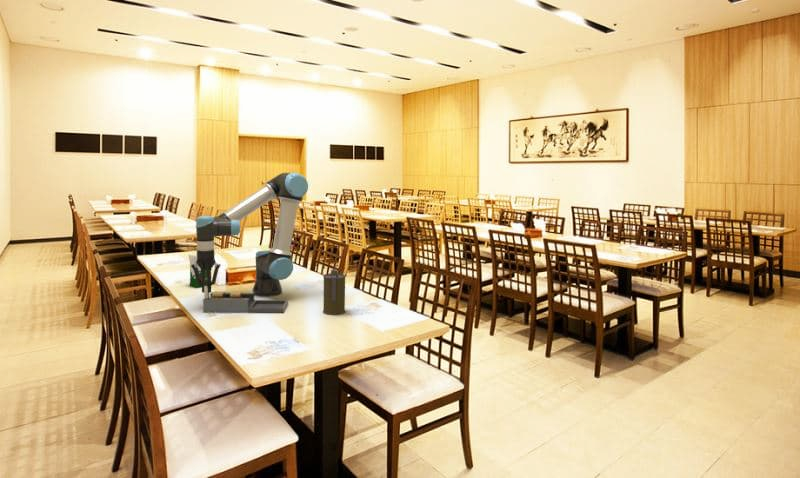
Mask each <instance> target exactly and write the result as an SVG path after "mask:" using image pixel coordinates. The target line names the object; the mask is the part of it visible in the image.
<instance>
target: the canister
mask: <svg viewBox="0 0 800 478" xmlns="http://www.w3.org/2000/svg"><path fill="white" fill-rule="evenodd" d="M346 276H347V275H345V274H343V273H339V270H338V268H333V269H330V273H325V274H323V276H322V277H323V308H322V309H323V310H322V313H323V314H325V315H330V316H338V315H339V316H340V315H342V314H345V313H346V306H345V304H346Z"/></svg>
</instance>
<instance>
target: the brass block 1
mask: <svg viewBox="0 0 800 478" xmlns="http://www.w3.org/2000/svg"><path fill="white" fill-rule="evenodd" d="M225 292H226V291H214V293H213V294H212V298H225Z"/></svg>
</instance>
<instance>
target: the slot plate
mask: <svg viewBox="0 0 800 478" xmlns="http://www.w3.org/2000/svg"><path fill="white" fill-rule="evenodd" d="M214 292H215V291H214ZM214 292H213V291H211V292H210V293H209V298H203V299H202V305H203V306H202V308H203V309H202V310H203V311H202V312H203V313H223V314H225V313H228V314H229V313H230V314H232V313H236V314H237V313H238V314H240V313H241V314H245V313H247V314H249V313H248V308H249V306H250V305H251V304H252V303H253V302H254V300H256V299H255V296H256V295H255V293H253V292H243V291H241V292H242V298H230V294H231V293H232V292H233V291H232V292H231V291H230V292H229V291H227V292H226V291H224V292H225V298H212V294H213V293H214Z"/></svg>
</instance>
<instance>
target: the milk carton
mask: <svg viewBox="0 0 800 478" xmlns="http://www.w3.org/2000/svg"><path fill="white" fill-rule="evenodd" d="M187 255H188V261H189V287H191V288H195V289H200V288H201V289H202V286H201V285H198V283H197V280H196V276H195V273H194V270H193V268H192V267H191V265H193V264H195V263H196V261H197V252H196V253H189V254H187ZM198 270H199V274H200V277H201V268H200V267H199V266H198ZM206 285H207V270H206Z"/></svg>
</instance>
